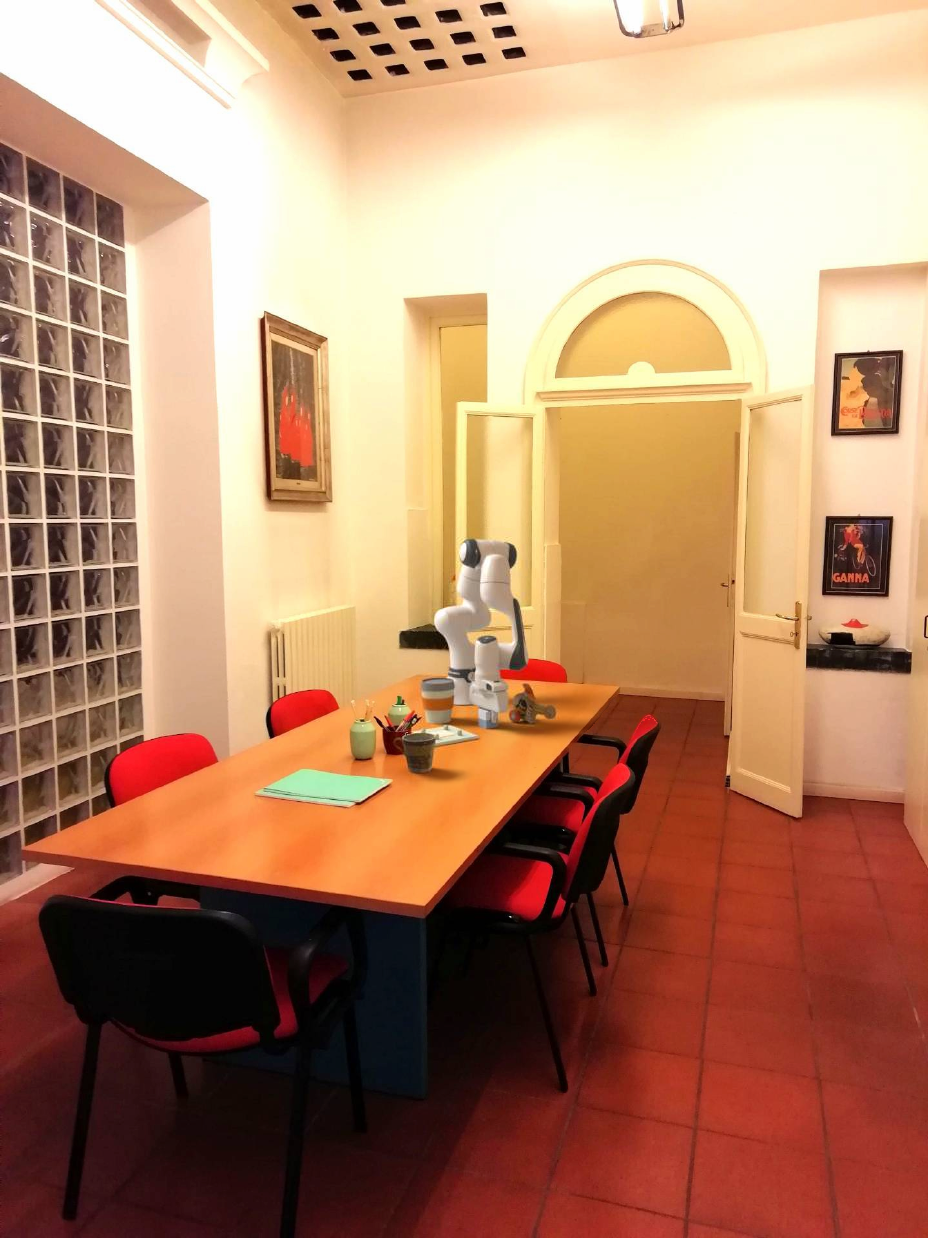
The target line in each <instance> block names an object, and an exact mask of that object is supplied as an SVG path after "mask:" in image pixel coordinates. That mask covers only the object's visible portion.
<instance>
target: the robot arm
mask: <svg viewBox="0 0 928 1238" xmlns="http://www.w3.org/2000/svg"><path fill="white" fill-rule="evenodd" d="M458 553H459V560H460V562H461V564H462V566H461V569H460V572H459V576H458V581H457V585H456V591H457V594H458V596H460V597H461V598H462V599H463V601H462V604H461V605H460V604H459V605H453V606H451V605H450V606H447V607H444V608H442V609H439V610H437V612H436V613H435V614H434V615H435V616H434V618H433V620H434V621H433V623H434V626H435V628H436V630H437V632H439V633H440V634H441V635H442V637H444V638H445V641H446V642H447V645H448V650H449V661H450V662H449V663H450V665H449V667H448V670H447V671H448V673H447V677H446V678H451V679H453V680H454V685H455V688H454V693H453V695H454V704H453V705H456V706H457V705H458V706H459V705H461V706H462V705H463V706H466V705H468V706H469V705H474V706H476V707H477V710H479V709H488V710H491V713H492V717H490V722H492V723H496V717H497V715H498V716H499V714H503V713H506V712H507V711H508V709H509V694H508V691H507V690H509V684H508V683H507V682H506V681H505V680H504V679H503V678H502V677H501V671H500V670H509V671H516V672H520V671H523V669H525V668H526V667H527V666H528V663H529V651H528V648H527V642H526V637H525V631H524V623H523V617H522V610H521V606H520V602H519V600H518V599H517V598H515V597H514V595H513V593H512V589H511V569H512V568H513V567H515V566H516V564H517V560H518V559H517V557H518V552H517V548H516V547H515V545H514V544H512V543H509V542H507V541H504V542H503V541H499V540H496V539H476V538H467V539H465V540H464V541H463V542H462V543H461V544H460V547H459V551H458ZM489 608H491V609H493V610H494V611H498V612H500V613H502V614H504V615H506V616H507V617H508V618H509V620H510V626H511V634H512V642H499V640H498V638H497V637H496V636H494V635H482V636H479V637H478V638H477V639H476V641H475V644H474V643H473V642H471V641H470V640H469V636H468V633H472V632H479V631H482V630H484V629H486V628H488V626H490V625H491V622H492V613H491V610H490V609H489Z"/></svg>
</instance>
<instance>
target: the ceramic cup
mask: <svg viewBox="0 0 928 1238" xmlns="http://www.w3.org/2000/svg"><path fill="white" fill-rule="evenodd" d="M396 741H400V742H401V743H402V745H403V749H402V748H401V747H399V746H398V745H397V744H396ZM435 742H436V736H435V735H433V734H430V733H412V734H407V735H406V734H404V735H403V736H402V738H401V737H396V738H394V741H393V746H395V748H396V749H397V750H399V751H400V752H401V754H402V755H404V757H405V760H406V764H407V769H408V771H409V772H411V773H416V774H417V773H418V774H423V773H428V772H430V771H431V770H432V768H433V759H434V755H435V754H434V753H435V747H436V746H435Z"/></svg>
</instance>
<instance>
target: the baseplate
mask: <svg viewBox="0 0 928 1238" xmlns="http://www.w3.org/2000/svg"><path fill="white" fill-rule="evenodd" d="M412 732H413V733H430V734H433V735H435V736H436V742H435V747H441V746H444V745H450V744H455V743H461V742H467V741H473V740H478V739H479V735H477V734H474V733H473V732H472V733H471V732H470V731H467V730H464V729H462V728H458V727H456V726H453V725H451V724H450V725H448V724H445V725H443V726H438V727H434V728H428V729H427V728H421V729H420V730H416V731H415V730H414V731H412Z"/></svg>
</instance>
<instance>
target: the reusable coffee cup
mask: <svg viewBox="0 0 928 1238" xmlns="http://www.w3.org/2000/svg"><path fill="white" fill-rule="evenodd" d="M454 688H455V685H454V680H453V679H451V678H447V677H428V678H424V679H422V680H420V690H421V702H422V707H423V709H424V714H425V721H426V723H428V724H433V725H441V724H447V723H450V722H451V720H452V711H453V708H454V705H455V704H454V695H453V693H454Z"/></svg>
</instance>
